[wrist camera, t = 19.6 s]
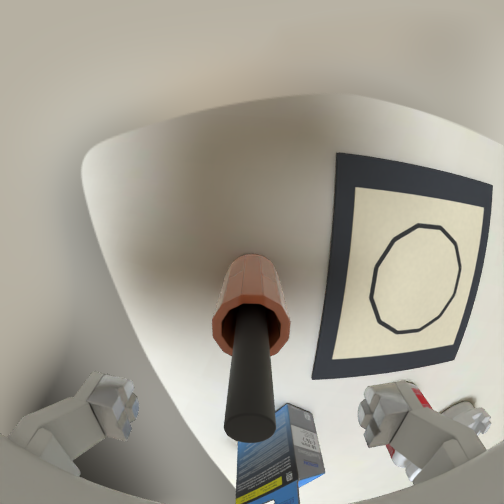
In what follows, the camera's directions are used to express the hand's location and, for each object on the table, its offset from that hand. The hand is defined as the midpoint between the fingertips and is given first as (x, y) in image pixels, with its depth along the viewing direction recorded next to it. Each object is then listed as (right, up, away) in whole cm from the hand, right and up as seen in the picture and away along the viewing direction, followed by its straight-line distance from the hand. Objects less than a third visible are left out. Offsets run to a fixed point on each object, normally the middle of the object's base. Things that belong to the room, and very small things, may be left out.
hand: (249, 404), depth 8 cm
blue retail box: (+2, -15, +18) cm, 23 cm away
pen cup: (0, +3, +13) cm, 14 cm away
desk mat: (+15, +2, +13) cm, 20 cm away
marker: (0, +3, +13) cm, 13 cm away
